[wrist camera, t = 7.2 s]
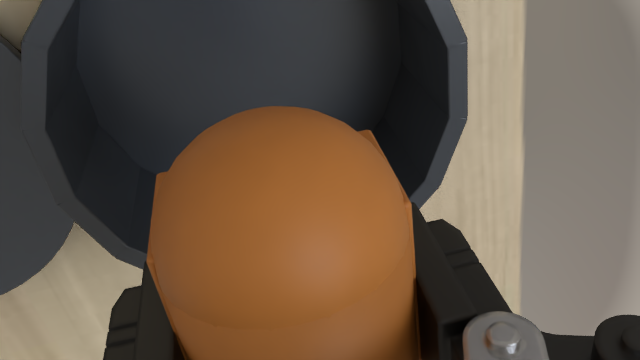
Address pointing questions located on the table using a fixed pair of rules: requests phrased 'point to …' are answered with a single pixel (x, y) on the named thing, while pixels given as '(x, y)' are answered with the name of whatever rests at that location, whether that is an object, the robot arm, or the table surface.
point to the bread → (285, 243)
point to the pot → (227, 90)
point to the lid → (22, 189)
